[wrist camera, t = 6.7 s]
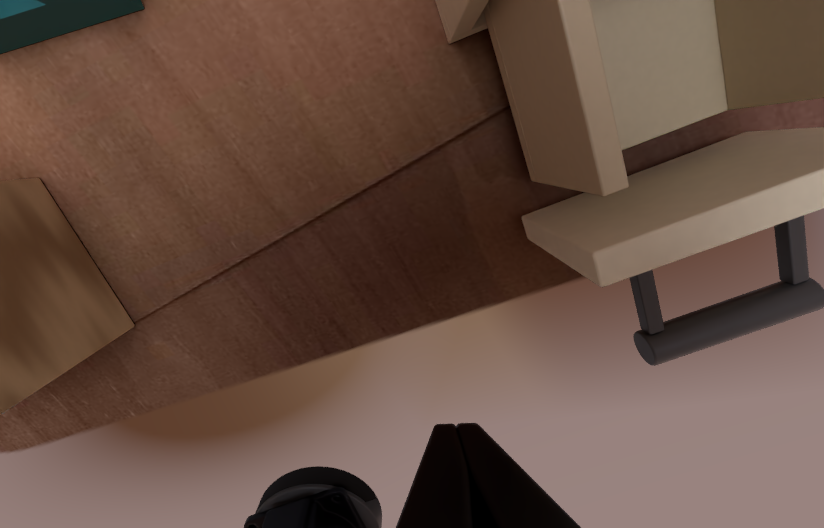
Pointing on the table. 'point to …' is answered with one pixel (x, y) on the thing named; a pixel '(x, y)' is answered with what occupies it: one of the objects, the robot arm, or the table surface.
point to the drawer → (657, 115)
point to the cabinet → (461, 17)
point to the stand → (47, 294)
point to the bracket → (54, 18)
